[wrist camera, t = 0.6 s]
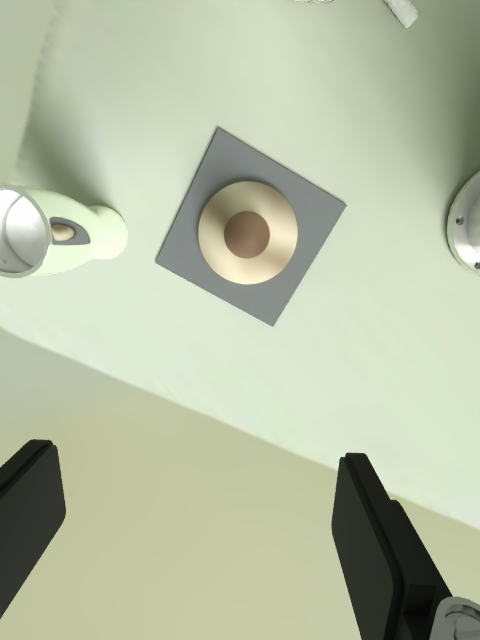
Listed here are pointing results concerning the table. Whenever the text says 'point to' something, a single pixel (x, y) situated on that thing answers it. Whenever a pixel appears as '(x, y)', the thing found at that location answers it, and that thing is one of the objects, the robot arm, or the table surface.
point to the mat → (249, 165)
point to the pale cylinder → (53, 232)
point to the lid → (247, 232)
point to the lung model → (399, 6)
